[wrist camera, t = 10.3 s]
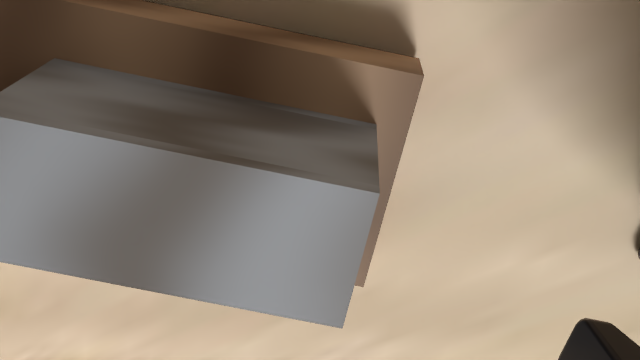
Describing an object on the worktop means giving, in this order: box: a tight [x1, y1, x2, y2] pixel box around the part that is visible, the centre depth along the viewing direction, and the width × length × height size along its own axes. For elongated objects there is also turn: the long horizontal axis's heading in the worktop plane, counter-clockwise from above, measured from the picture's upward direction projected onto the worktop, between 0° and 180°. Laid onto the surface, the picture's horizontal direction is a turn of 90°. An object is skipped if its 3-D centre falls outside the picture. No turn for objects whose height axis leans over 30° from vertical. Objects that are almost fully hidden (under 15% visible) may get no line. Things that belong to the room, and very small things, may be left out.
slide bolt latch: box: [0, 0, 424, 328], centre depth 18 cm, size 24×8×6 cm, turn 79°
